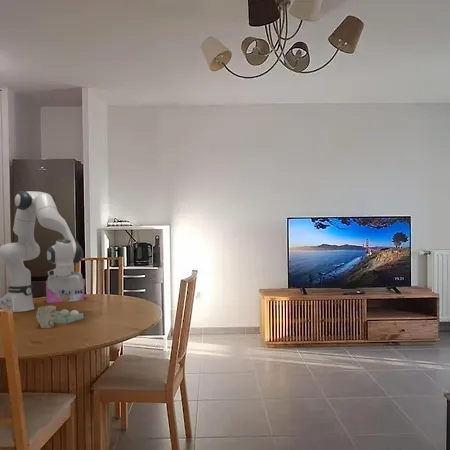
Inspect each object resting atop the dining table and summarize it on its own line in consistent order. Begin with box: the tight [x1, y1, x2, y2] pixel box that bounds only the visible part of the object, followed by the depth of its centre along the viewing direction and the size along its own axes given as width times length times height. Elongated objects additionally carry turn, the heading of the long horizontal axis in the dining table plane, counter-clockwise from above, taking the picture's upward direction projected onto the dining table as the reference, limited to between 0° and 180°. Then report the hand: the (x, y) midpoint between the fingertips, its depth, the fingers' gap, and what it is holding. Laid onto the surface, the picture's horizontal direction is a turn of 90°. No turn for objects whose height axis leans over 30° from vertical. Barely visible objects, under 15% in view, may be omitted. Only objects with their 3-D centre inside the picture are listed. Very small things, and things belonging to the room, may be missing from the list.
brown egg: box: [61, 293, 70, 303], centre depth 266 cm, size 5×5×5 cm
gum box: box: [45, 277, 86, 304], centre depth 332 cm, size 24×8×14 cm, turn 111°
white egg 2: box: [69, 309, 80, 316], centre depth 272 cm, size 5×5×5 cm
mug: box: [35, 305, 57, 329], centre depth 256 cm, size 8×13×10 cm, turn 58°
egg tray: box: [36, 310, 85, 324], centre depth 272 cm, size 19×13×3 cm
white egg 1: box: [60, 308, 70, 315], centre depth 275 cm, size 5×5×5 cm
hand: (65, 298), depth 266 cm, fingers closed on brown egg, 5 cm apart
